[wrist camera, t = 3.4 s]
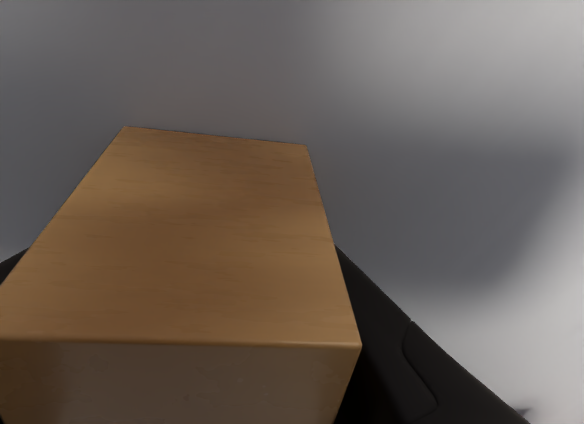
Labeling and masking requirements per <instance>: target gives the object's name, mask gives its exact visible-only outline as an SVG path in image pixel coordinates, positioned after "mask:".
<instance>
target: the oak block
mask: <svg viewBox="0 0 584 424" xmlns="http://www.w3.org/2000/svg"><path fill="white" fill-rule="evenodd" d="M361 349H362V342H361V339H360V335H359V331H358V328H357V324H356V321H355V317H354V314H353V310H352V306H351V303H350V299H349V296H348V292H347V289H346V285H345V281H344V278H343V274H342V271H341V267H340V264H339V260H338V256H337V253H336V249H335V246H334V242H333V239H332V235H331V231H330V228H329V224H328V221H327V217H326V214H325V210H324V206H323V203H322V199H321V196H320V192H319V189H318V185H317V181H316V178H315V174H314V171H313V167H312V164H311V160H310V156H309V153H308V149H307V146H306V145H300V144H291V143H281V142H271V141H262V140H252V139H243V138H233V137H223V136H214V135H204V134H195V133H185V132H176V131H166V130H156V129H147V128H137V127H128V126H125V127H123V128H122V129H121V130H120V132H119V133H118V134H117V135H116V137H115V138H114V139H113V141H112V142H111V143H110V144H109V146H108V147H107V148H106V150H105V151H104V152H103V153H102V155H101V156H100V157H99V159H98V160H97V161H96V162H95V164H94V165H93V166H92V168H91V169H90V170H89V172H88V173H87V174H86V175H85V177H84V178H83V179H82V181H81V182H80V183H79V184H78V186H77V187H76V188H75V190H74V191H73V192H72V193H71V195H70V196H69V197H68V199H67V200H66V201H65V202H64V204H63V205H62V206H61V208H60V209H59V210H58V211H57V213H56V214H55V215H54V217H53V218H52V219H51V221H50V222H49V223H48V224H47V226H46V227H45V228H44V230H43V231H42V232H41V233H40V235H39V236H38V237H37V239H36V240H35V241H34V242H33V244H32V245H31V246H30V248H29V249H28V250H27V251H26V253H25V254H24V255H23V257H22V258H21V259H20V261H19V262H18V263H17V264H16V266H15V267H14V268H13V270H12V271H11V272H10V273H9V275H8V276H7V277H6V279H5V280H4V281H3V282H2V284H1V285H0V418H1V420H2V422H3V424H333V423H334V421H335V418H336V415H337V413H338V410H339V407H340V405H341V402H342V399H343V397H344V394H345V391H346V389H347V386H348V383H349V381H350V378H351V375H352V373H353V370H354V367H355V365H356V362H357V359H358V357H359V354H360V351H361Z"/></svg>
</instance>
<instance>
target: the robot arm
mask: <svg viewBox="0 0 584 424" xmlns="http://www.w3.org/2000/svg"><path fill="white" fill-rule="evenodd" d="M334 246H335V249H336V253H337V256H338V260H339V264H340V267H341V271H342V274H343V278H344V281H345V285H346V289H347V292H348V296H349V299H350V303H351V306H352V310H353V314H354V317H355V321H356V324H357V328H358V331H359V335H360V339H361V342H362V349H361V351H360V354H359V357H358V359H357V362H356V365H355V367H354V370H353V373H352V375H351V378H350V381H349V383H348V386H347V389H346V391H345V394H344V397H343V399H342V402H341V405H340V407H339V410H338V413H337V415H336V418H335V421H334V423H333V424H530V423H529V422H528V421H527V420H525V419H524V418H523V417H522V416H521V415H519V414H518V413H517V412H516V411H515V410H513V409H512V408H511V407H510V406H509V405H507V404H506V403H505V402H504V401H503V400H501V399H500V398H499V397H498V396H497V395H495V394H494V393H493V392H492V391H491V390H490V389H488V388H487V387H486V386H485V385H484V384H482V383H481V382H480V381H479V380H478V379H476V378H475V377H474V376H473V375H472V374H470V373H469V372H468V371H467V370H466V369H465V368H463V367H462V366H461V365H460V364H459V363H458V362H456V361H455V360H454V359H453V358H452V357H451V356H450V355H448V354H447V353H446V352H445V351H444V350H443V349H442V348H441V347H440V346H439V345H438V344H436V343H435V342H434V341H433V340H432V339H431V338H430V337H429V336H428V335H427V334H426V333H425V332H424V331H423V330H422V329H421V328H420V327H419V326H418V325H417V324H416V323H415V322H413V321H411V319H410V318H409V317H408V316H407V315H406V314H405V313H404V312H403V311H402V310H401V309H400V308H399V307H398V306H397V305H396V304H395V303H394V302H393V301H392V300H391V299H390V298H389V297H388V296H387V295H386V294H385V293H384V292H383V291H382V290H381V289H380V288H379V287H378V286H377V285H376V284H375V283H374V282H373V281H372V280H371V279H370V278H369V277H368V276H367V275H366V274H365V273H364V272H363V271H361V270H360V269H359V268H358V267H357V266H356V265H355V264H354V263H353V262H352V261H351V260H350V259H349V258H348V257H347V256H346V255H345V254H344V253H343V252H342V251H341V250H340V249H339V248H338V247H337V246H336V245H335V244H334ZM29 248H30V247H29ZM29 248H27V249H25V250H23V251H21V252H19V253H18V254H16V255H14V256H12V257H10V258H8V259H7V260H5V261H3V262H1V263H0V285H1V284H2V282H3V281H4V280H5V279H6V277H7V276H8V275H9V273H10V272H11V271H12V270H13V268H14V267H15V266H16V264H17V263H18V262H19V261H20V259H21V258H22V257H23V255H24V254H25V253H26V251H27V250H28V249H29ZM410 321H411V322H410ZM0 424H3V422H2V420H1V418H0Z"/></svg>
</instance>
